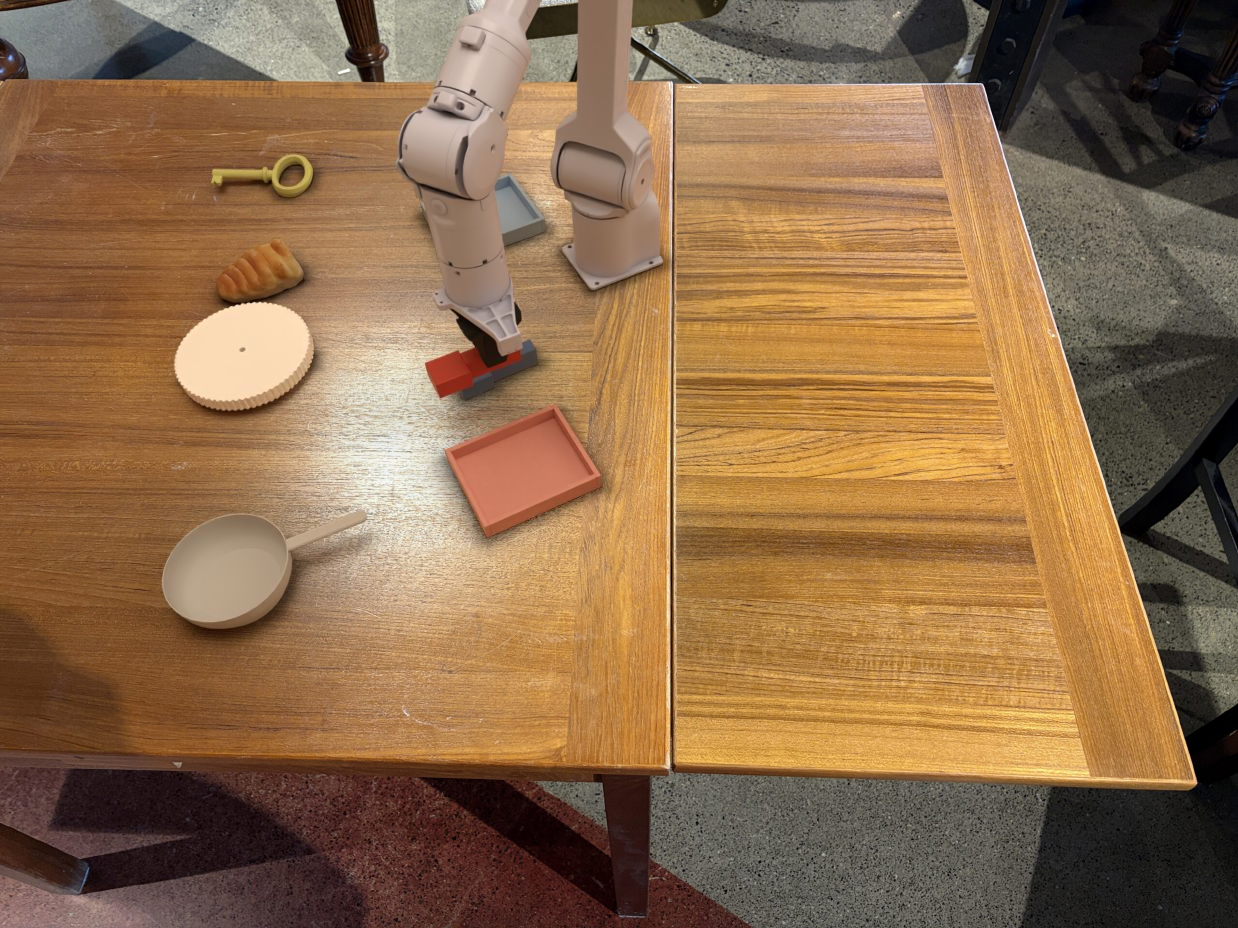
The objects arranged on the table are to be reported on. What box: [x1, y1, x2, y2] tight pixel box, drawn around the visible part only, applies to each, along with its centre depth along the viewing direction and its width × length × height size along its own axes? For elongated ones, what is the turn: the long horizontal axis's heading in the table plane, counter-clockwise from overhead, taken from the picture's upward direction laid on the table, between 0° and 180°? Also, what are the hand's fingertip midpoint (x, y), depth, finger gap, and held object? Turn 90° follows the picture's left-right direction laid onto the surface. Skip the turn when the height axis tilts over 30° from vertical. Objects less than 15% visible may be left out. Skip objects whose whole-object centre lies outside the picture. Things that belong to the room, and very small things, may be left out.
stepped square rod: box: [458, 339, 539, 401], centre depth 94 cm, size 9×3×2 cm, turn 118°
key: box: [210, 153, 314, 198], centre depth 113 cm, size 7×12×2 cm, turn 112°
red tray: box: [444, 403, 603, 539], centre depth 86 cm, size 12×10×2 cm
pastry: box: [216, 238, 305, 304], centre depth 102 cm, size 9×7×4 cm
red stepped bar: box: [424, 346, 522, 399], centre depth 86 cm, size 9×3×2 cm, turn 117°
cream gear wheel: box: [173, 301, 315, 412], centre depth 95 cm, size 14×14×2 cm
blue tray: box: [419, 172, 547, 247], centre depth 108 cm, size 12×10×2 cm
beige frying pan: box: [161, 509, 368, 630], centre depth 80 cm, size 11×18×4 cm, turn 114°
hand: (491, 354), depth 86 cm, fingers closed on red stepped bar, 1 cm apart
